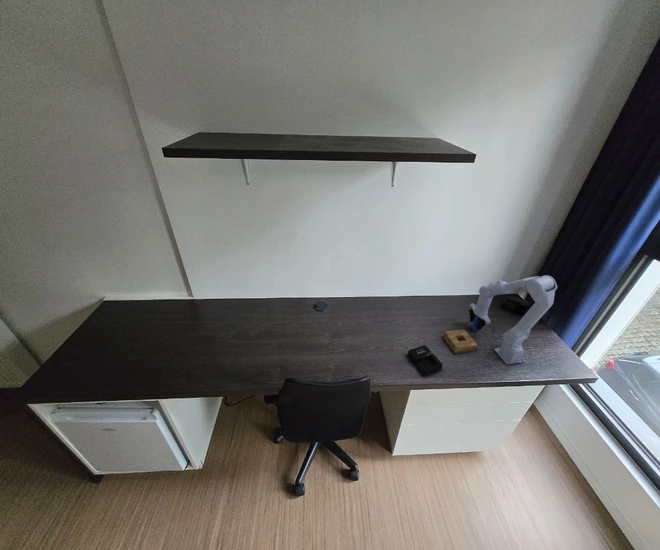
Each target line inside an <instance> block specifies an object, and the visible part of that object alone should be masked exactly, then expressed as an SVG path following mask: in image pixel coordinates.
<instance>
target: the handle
mask: <svg viewBox="0 0 660 550" xmlns="http://www.w3.org/2000/svg"><path fill="white" fill-rule="evenodd" d="M478 319H481V318H480V317H478V316H477V315H476V316H475V319H474V322H472V324H471V327H470V329H471V330H472V331H473V332H476V331H478V330H477V325H478Z"/></svg>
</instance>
